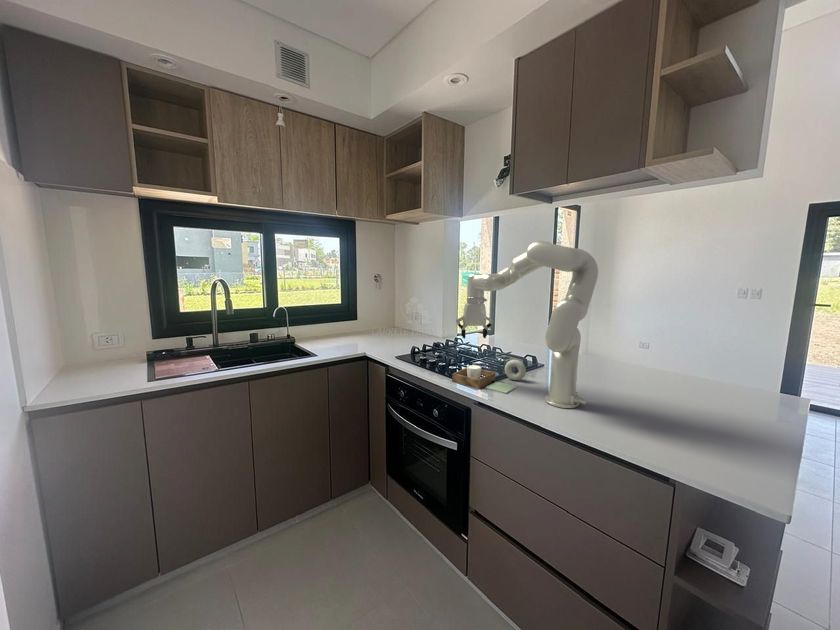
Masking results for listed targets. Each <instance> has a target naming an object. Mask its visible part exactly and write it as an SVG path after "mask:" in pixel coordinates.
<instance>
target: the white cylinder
mask: <svg viewBox="0 0 840 630" xmlns="http://www.w3.org/2000/svg"><path fill="white" fill-rule="evenodd" d="M466 368H467V377H471V378H475V379H481V378H480V376H481V369H482V366H480V365H476V364H475V365H474V364H472V365H471V364H470V365H467V366H466Z"/></svg>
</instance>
